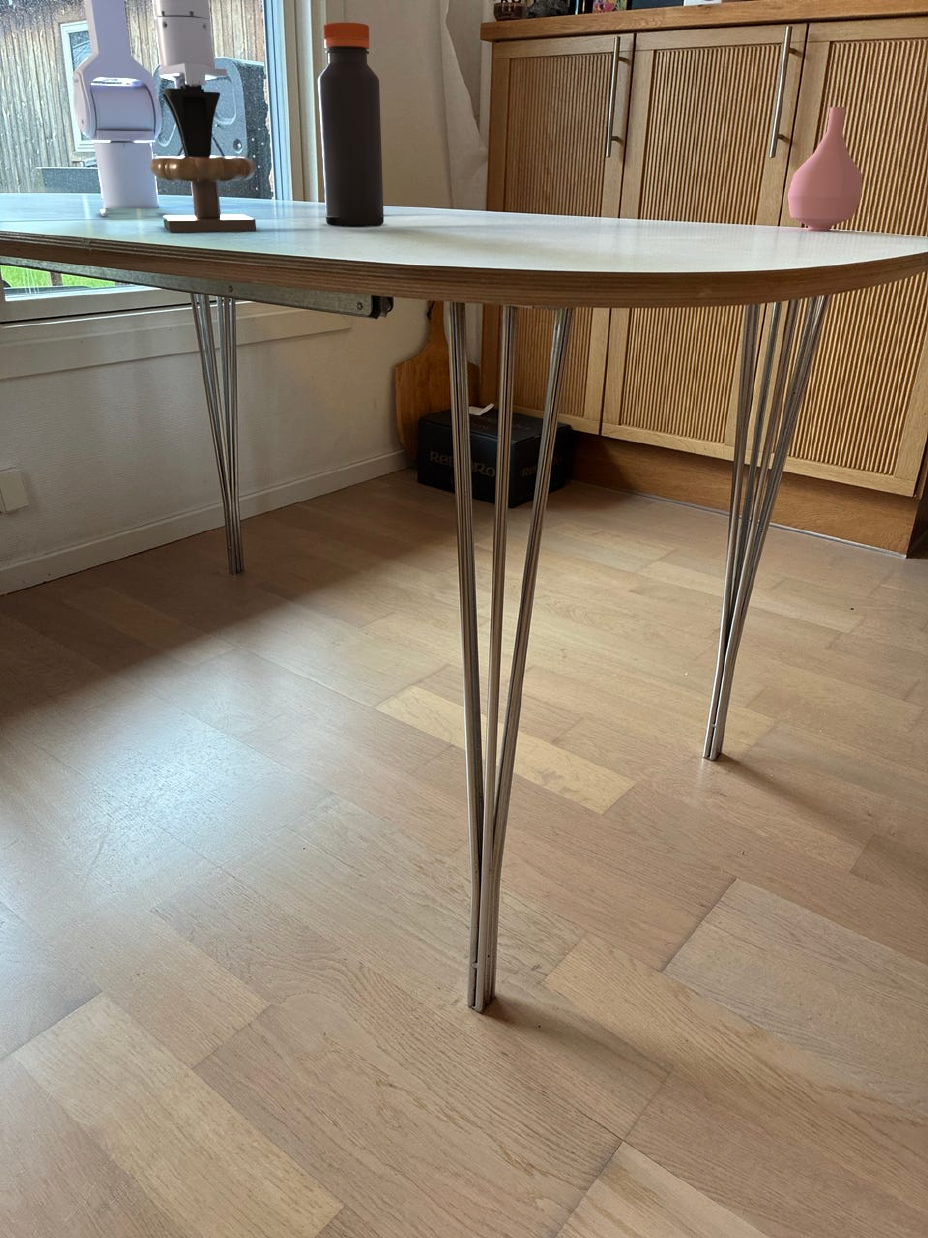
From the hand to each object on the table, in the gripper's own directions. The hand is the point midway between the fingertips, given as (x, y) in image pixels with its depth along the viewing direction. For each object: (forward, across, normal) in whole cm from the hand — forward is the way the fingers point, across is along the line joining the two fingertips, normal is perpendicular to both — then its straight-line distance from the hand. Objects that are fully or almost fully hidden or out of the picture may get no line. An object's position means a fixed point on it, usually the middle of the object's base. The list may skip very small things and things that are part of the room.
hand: (198, 163), depth 105 cm
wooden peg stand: (+6, -4, 0) cm, 8 cm away
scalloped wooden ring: (0, -4, 0) cm, 4 cm away
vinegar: (+7, -2, -17) cm, 18 cm away
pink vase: (+7, -26, -64) cm, 70 cm away
